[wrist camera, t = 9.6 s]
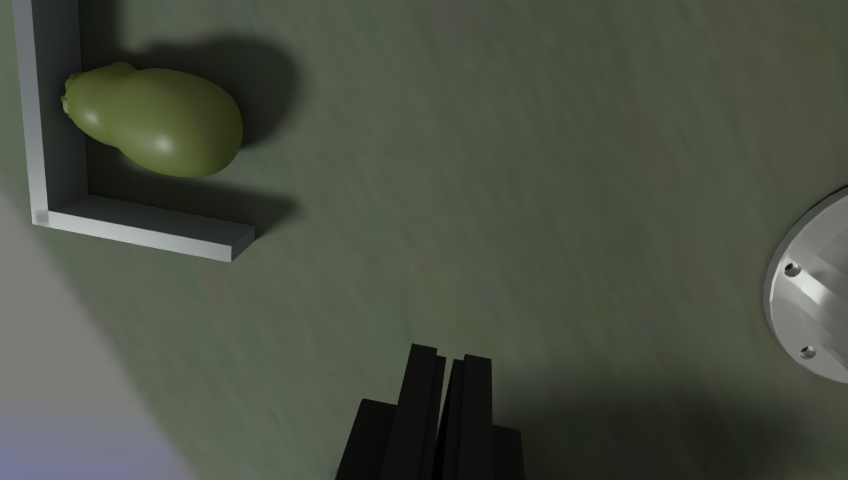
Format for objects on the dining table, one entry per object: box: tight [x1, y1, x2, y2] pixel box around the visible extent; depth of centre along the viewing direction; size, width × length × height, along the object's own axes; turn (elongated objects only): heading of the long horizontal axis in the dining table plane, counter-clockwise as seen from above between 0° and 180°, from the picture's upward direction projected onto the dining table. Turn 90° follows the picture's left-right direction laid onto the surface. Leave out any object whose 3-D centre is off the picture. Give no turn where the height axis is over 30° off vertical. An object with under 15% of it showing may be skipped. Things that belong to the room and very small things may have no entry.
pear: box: [59, 62, 243, 178], centre depth 31 cm, size 6×5×10 cm
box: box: [12, 0, 255, 262], centre depth 31 cm, size 12×16×4 cm
